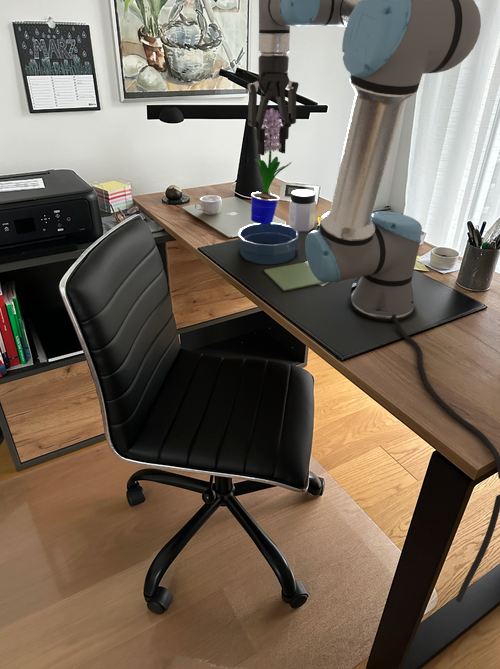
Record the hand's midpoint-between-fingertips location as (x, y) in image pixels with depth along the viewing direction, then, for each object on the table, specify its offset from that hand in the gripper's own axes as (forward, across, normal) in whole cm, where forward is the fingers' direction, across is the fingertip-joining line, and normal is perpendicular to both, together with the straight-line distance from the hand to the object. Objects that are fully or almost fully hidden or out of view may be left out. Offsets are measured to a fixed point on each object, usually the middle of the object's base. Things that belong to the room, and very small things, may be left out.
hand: (271, 153), depth 129 cm
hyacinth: (+19, +2, 0) cm, 19 cm away
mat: (+30, 0, +17) cm, 34 cm away
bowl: (+30, 0, -1) cm, 30 cm away
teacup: (+29, +6, -42) cm, 51 cm away
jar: (+30, -20, -16) cm, 39 cm away
